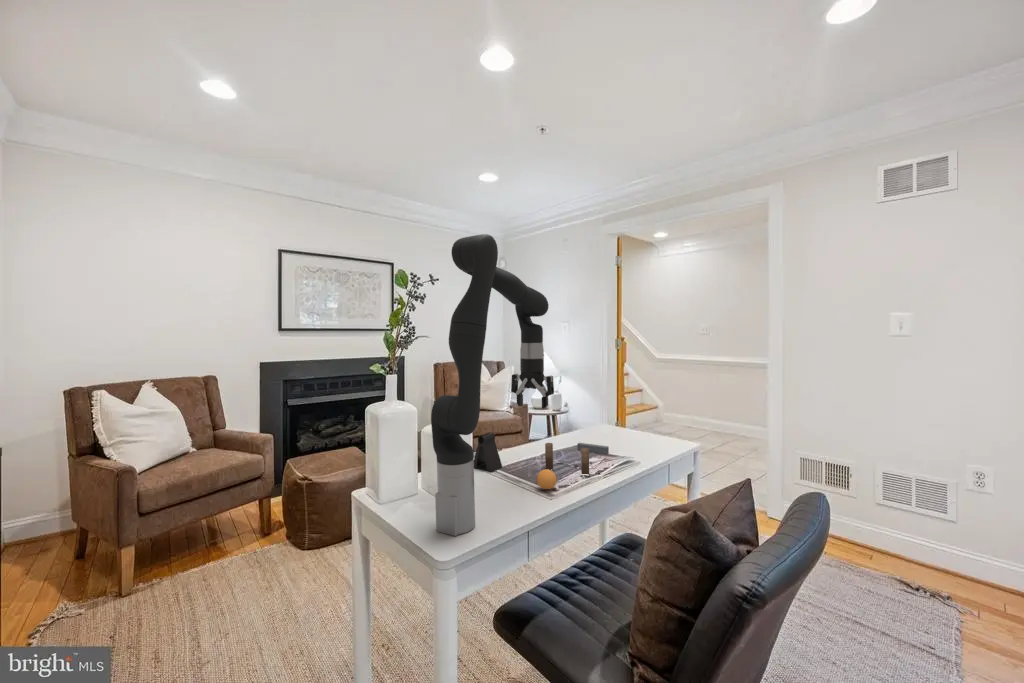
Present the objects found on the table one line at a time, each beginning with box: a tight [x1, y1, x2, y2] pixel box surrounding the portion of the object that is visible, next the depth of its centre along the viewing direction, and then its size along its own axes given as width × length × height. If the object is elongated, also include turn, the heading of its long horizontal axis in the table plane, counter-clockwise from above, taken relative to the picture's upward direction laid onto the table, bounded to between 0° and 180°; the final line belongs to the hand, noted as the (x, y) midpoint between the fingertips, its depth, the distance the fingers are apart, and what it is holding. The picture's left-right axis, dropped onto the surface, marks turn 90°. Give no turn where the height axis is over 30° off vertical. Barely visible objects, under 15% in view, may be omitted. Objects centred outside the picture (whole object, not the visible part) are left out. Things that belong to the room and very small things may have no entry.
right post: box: [580, 448, 590, 475], centre depth 143 cm, size 3×3×9 cm
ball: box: [536, 468, 557, 490], centre depth 132 cm, size 6×6×6 cm
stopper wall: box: [576, 442, 609, 455], centre depth 169 cm, size 2×12×2 cm, turn 60°
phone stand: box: [474, 432, 503, 473], centre depth 152 cm, size 9×6×12 cm, turn 55°
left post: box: [544, 442, 554, 470], centre depth 149 cm, size 3×3×9 cm
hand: (532, 407), depth 139 cm, fingers open, 8 cm apart
